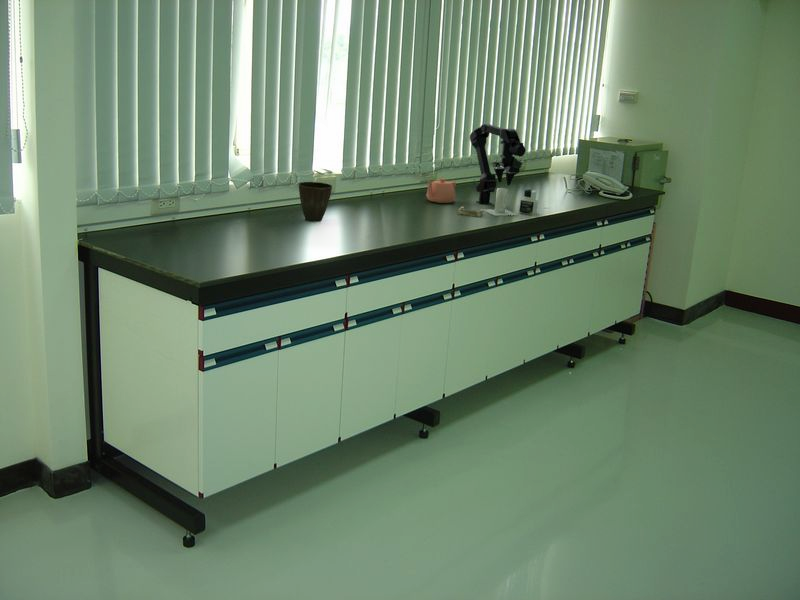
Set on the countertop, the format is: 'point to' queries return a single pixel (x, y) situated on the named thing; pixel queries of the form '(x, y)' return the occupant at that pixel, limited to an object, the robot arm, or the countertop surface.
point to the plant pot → (314, 199)
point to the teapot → (441, 191)
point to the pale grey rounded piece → (501, 200)
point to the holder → (470, 212)
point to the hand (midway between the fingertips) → (504, 183)
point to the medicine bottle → (529, 203)
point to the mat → (491, 211)
